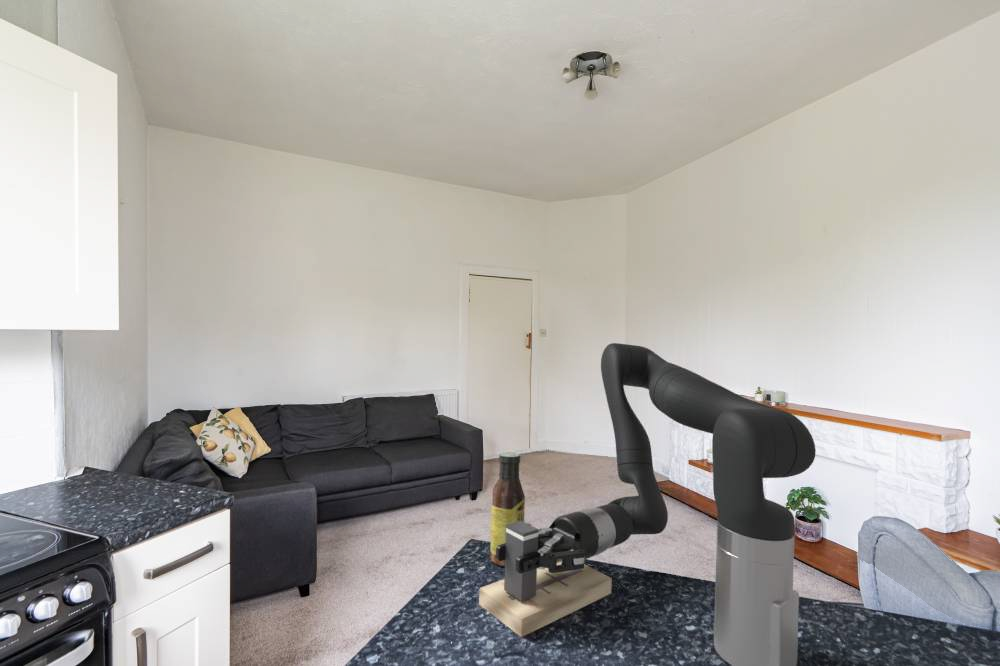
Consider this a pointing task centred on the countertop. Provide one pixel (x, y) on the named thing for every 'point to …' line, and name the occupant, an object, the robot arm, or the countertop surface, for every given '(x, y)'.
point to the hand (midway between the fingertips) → (507, 559)
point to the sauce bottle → (506, 501)
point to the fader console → (545, 598)
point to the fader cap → (517, 544)
